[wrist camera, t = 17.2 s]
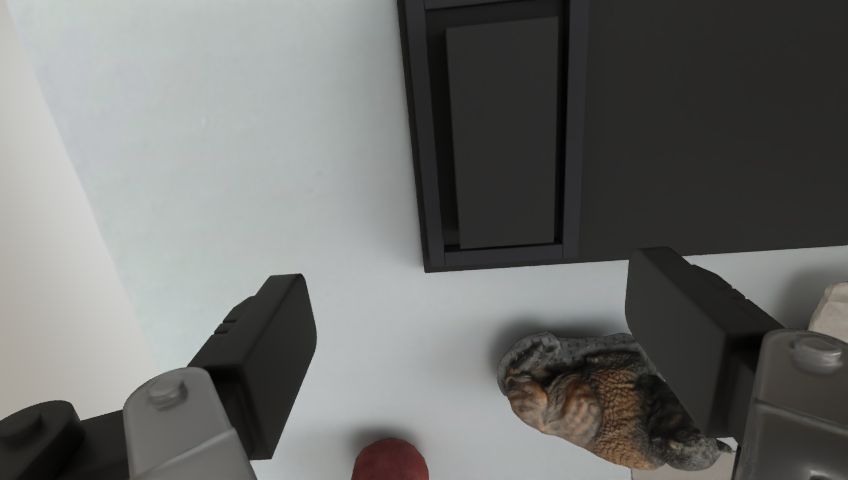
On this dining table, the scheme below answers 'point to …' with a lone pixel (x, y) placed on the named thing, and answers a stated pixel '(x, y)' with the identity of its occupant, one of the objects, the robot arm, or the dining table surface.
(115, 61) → the dining table surface
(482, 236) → the strip pad
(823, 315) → the decorative stone
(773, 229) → the dock pad
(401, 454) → the hook toy
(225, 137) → the dining table surface
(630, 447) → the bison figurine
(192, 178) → the dining table surface
